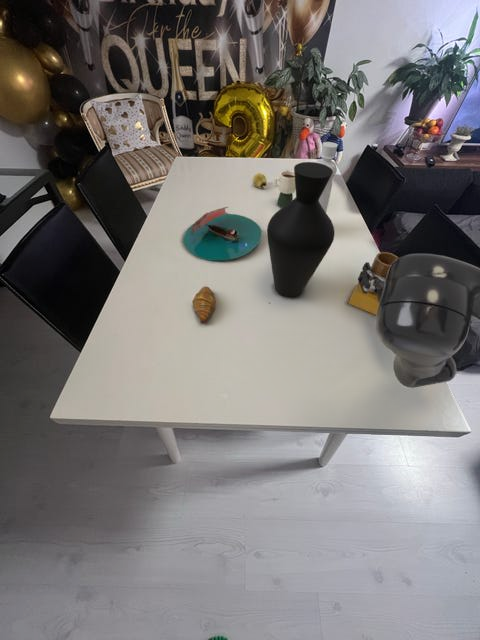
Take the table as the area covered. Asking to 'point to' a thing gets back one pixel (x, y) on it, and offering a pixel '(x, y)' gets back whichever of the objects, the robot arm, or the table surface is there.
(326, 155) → the bottle
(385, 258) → the cup
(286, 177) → the character mug
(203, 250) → the boat on round base
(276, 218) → the vase
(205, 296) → the croissant
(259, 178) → the fruit
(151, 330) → the table surface
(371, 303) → the box
